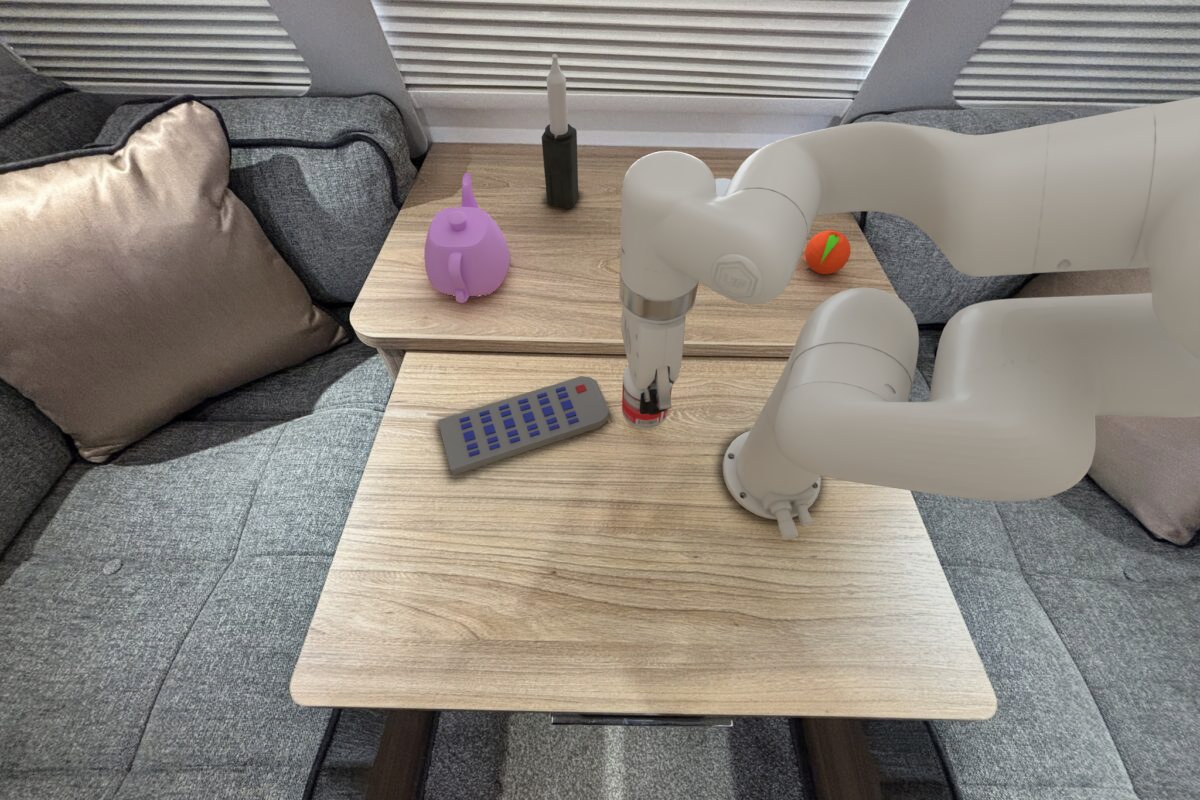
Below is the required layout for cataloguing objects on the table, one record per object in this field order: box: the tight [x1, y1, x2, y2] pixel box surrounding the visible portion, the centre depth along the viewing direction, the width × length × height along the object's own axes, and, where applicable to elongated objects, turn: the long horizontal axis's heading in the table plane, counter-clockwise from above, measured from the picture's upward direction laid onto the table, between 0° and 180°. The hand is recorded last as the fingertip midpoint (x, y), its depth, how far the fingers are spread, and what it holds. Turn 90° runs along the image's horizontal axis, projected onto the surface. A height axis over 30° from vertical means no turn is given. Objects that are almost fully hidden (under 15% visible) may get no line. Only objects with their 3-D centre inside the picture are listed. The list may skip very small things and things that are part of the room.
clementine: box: [804, 230, 852, 275], centre depth 87 cm, size 8×7×7 cm
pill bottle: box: [621, 365, 674, 431], centre depth 67 cm, size 6×6×11 cm
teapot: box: [423, 172, 511, 304], centre depth 84 cm, size 20×13×12 cm, turn 1°
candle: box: [541, 53, 579, 210], centre depth 88 cm, size 5×5×25 cm
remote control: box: [437, 375, 611, 476], centre depth 73 cm, size 8×23×2 cm, turn 111°
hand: (647, 386), depth 66 cm, fingers closed on pill bottle, 6 cm apart
